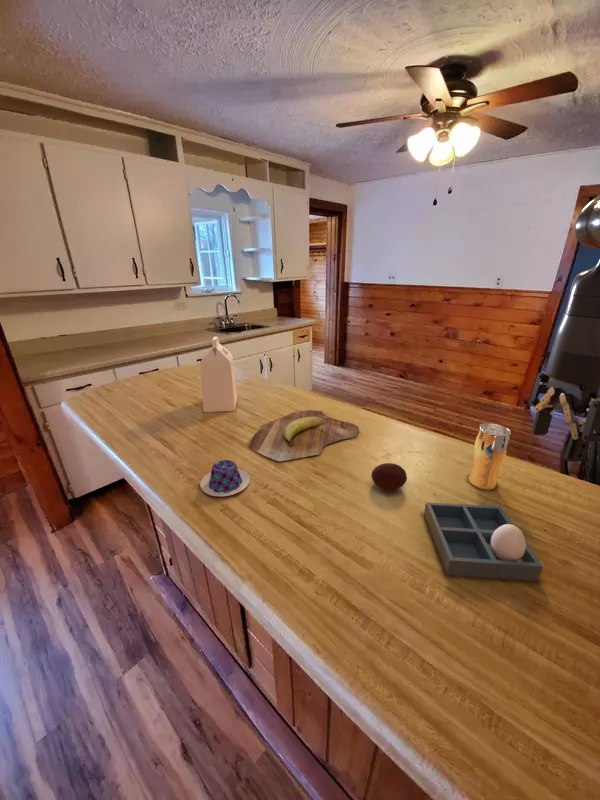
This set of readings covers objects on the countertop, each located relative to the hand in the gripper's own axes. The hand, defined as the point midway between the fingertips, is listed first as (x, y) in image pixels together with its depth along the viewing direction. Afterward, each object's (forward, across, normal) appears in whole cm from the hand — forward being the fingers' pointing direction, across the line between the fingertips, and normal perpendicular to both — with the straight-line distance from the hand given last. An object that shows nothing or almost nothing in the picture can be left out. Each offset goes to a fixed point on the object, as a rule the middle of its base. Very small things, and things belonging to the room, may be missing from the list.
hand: (554, 446), depth 54 cm
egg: (+23, -1, +4) cm, 24 cm away
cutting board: (+23, +46, +44) cm, 68 cm away
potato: (+24, +19, +21) cm, 37 cm away
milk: (+22, +67, +77) cm, 104 cm away
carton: (+24, +2, +8) cm, 25 cm away
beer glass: (+24, +23, -3) cm, 33 cm away
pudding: (+23, +18, +61) cm, 68 cm away
